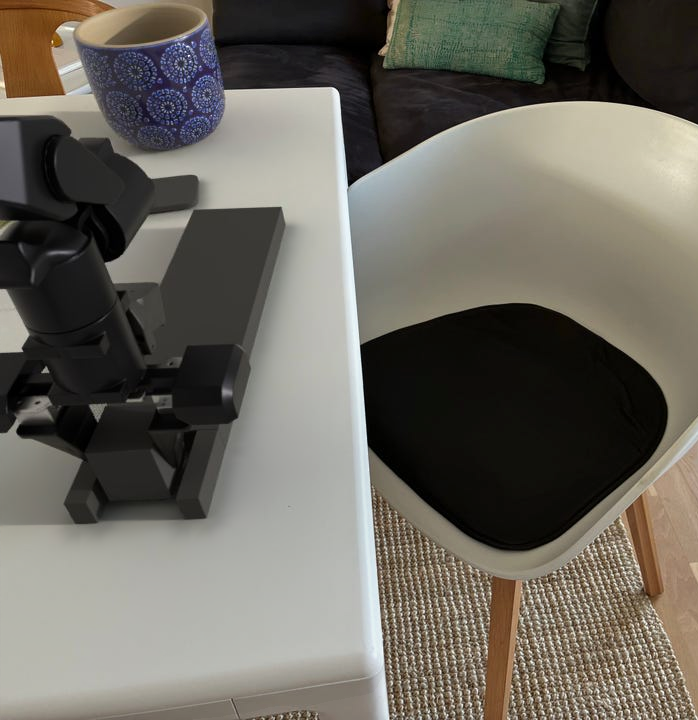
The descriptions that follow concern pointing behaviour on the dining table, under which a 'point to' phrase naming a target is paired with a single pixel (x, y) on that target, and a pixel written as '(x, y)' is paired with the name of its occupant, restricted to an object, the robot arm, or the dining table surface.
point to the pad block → (130, 455)
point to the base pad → (203, 332)
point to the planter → (153, 73)
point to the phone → (176, 192)
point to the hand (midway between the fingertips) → (144, 464)
